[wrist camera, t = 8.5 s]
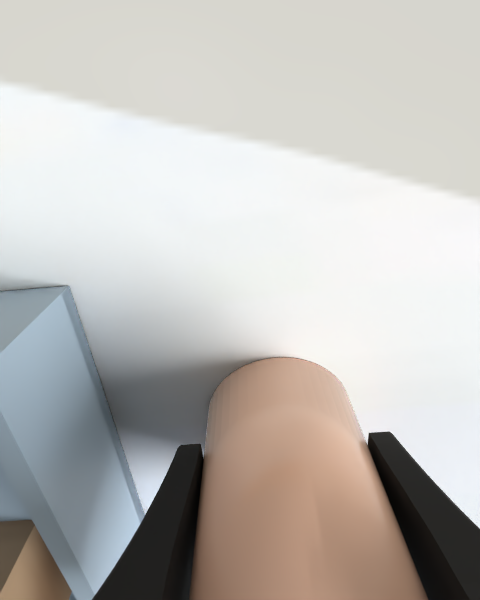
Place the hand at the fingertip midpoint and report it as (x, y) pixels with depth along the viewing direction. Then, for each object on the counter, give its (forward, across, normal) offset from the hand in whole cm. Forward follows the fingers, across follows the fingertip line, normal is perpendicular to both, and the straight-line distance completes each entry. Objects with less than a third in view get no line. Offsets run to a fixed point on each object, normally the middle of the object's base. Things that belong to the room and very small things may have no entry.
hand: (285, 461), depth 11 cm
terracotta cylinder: (+2, 0, 0) cm, 2 cm away
